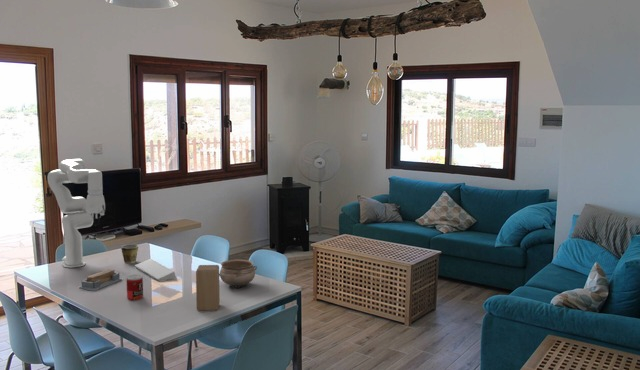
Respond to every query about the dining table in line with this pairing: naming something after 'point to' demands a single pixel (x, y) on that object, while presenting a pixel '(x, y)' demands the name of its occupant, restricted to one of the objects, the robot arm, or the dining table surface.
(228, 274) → the cooking pot
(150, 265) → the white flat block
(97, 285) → the board
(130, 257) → the ceramic cup
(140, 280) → the canned food
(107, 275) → the slat
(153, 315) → the dining table surface
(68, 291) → the dining table surface
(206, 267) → the wooden block
